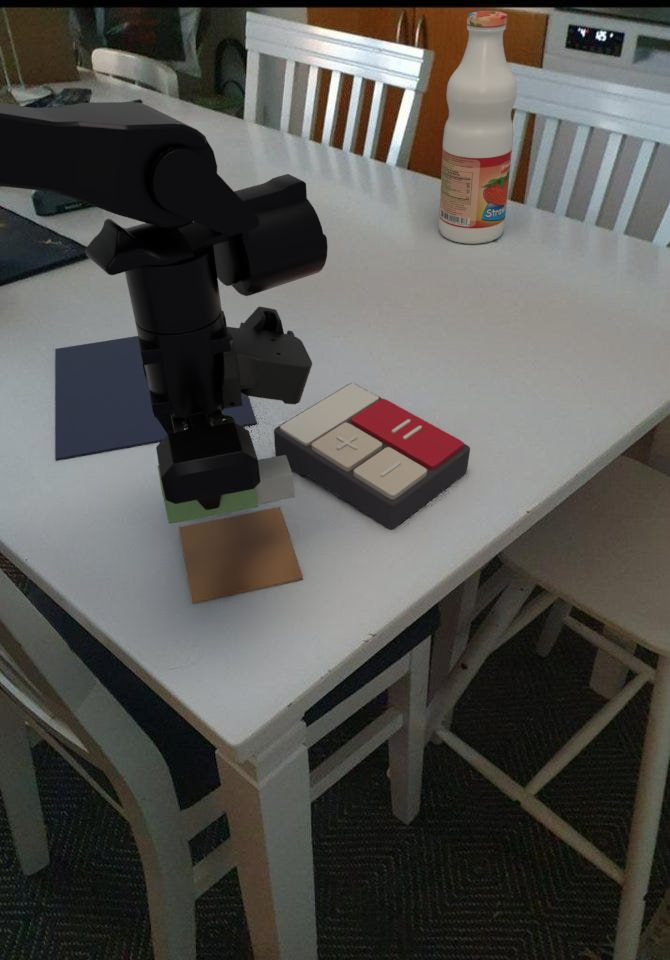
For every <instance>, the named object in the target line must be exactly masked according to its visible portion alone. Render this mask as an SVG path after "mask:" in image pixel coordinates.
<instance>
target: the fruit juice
mask: <svg viewBox="0 0 670 960" xmlns="http://www.w3.org/2000/svg"><path fill="white" fill-rule="evenodd" d="M507 24H508V14H507V13H506V12H503V11H497V10H479V11H473V12H470V13H469V14H468V15H467V18H466V29H467V31H468V39H467V44H466V47H465V51H464V54H463V56H462V58H461V61H460V63H459V65H458V66H457V68H456V69H455V70H454V71H453V73H452V74H451V75H450V77H449V80H448V82H447V86H446V96H445V97H446V103H447V108H448V117H447V120H446V121H445V125H444V129H443V137H442V154H441V155H442V156H441V175H440V179H441V180H440V196H439V216H438V229H439V233H440V234H441V236H443V237H444V238H445V239H446V240H449V241H451V242H455V243H459V244H467V245H468V244H469V245H470V244H471V245H472V244H473V245H474V244H486V243H489V242H492V241H495V240H496V239H498V238H500V237H501V236H502V234H503V233H504V228H505V224H506V223H505V222H506V213H507V202H508V194H509V185H510V172H511V165H512V163H511V162H512V154H513V148H514V147H513V146H514V123H513V121H512V112H513V111H512V110H513V108H514V105H515V103H516V99H517V94H518V82H517V79H516V77H515V75H514V73H513V70H512V69H511V67H510V66H509V65H508V62H507V59H506V53H505V47H504V32H505V30H506V29H507Z"/></svg>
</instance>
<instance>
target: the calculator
mask: <svg viewBox="0 0 670 960" xmlns="http://www.w3.org/2000/svg"><path fill="white" fill-rule="evenodd" d="M273 440H274V454H275V455H274V457H277V456H282V455H286V457H287V460H288V462H289V465H290V468H291V471H293V472H294V473H296V474H298V475H299V476H308V477H309V478H310V479H313V480H314V481H316V482H317V483H318V484H319V485H322V486H323V487H325V488H326V489H328V490H329V491H331V492H332V493H334V494H335V495H337V496H338V497H340V498H341V499H343V500H345V501H346V502H347V503H349V504H350V505H352V506H354V507H355V508H356V509H358V510H359V511H361V512H363V513H364V514H366V515H367V516H369V517H370V518H372V519H373V520H374V521H377V522H378V523H380V525H382V526H384V527H386V528H387V529H390V530H394V529H395V528H397V527H398V526H400V525H401V524H402V523H403V522H405V521H406V520H407V519H409V518H410V517H411V516H412V515H414V514H415V513H416V512H418V511H419V510H420V509H421V508H422V507H424V506H425V505H426V504H428V503H430V502H431V501H432V500H433V499H434V498H436V497H437V496H438V495H440V494H441V493H442V492H444V491H445V490H446V489H447V488H449V487H450V486H451V485H452V484H454V483H455V482H456V481H458V480H459V479H461V477H463V476H464V475H466V473H467V472H468V466H469V459H470V452H471V447H470V445H468V444H466V443H465V442H464V441H463V440H461V439H459V438H458V437H455V436H454V435H452V434H450V433H448V432H446V431H445V430H443V429H441V428H440V427H437V426H435V425H434V424H433V423H430V422H428V421H426V420H424V419H423V418H421V417H419V416H417V415H415V414H414V413H412V412H410V411H408V410H406V409H405V408H402V407H401V406H399V405H397V404H395V403H394V402H392V401H390V400H388V399H385V398H382V397H380V396H378V395H377V394H375V393H373V392H371V391H369V390H367V389H366V388H364V387H363V386H360V385H358V384H357V383H355V382H354V383H353V382H350V383H348V384H346V385H344V386H343V387H341V388H340V389H338V390H337V391H335V392H333V393H331V394H330V395H328V396H327V397H324V398H323V399H322V400H321V399H320V401H318V402H317V403H315V404H312V405H311V406H310V407H308V408H306V409H304V410H303V411H301V412H300V413H298V414H296V415H294V416H293V417H291V418H289V419H288V420H286V421H285V422H283V423H281V424H280V425H277V427H275V428H274V429H273Z"/></svg>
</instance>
